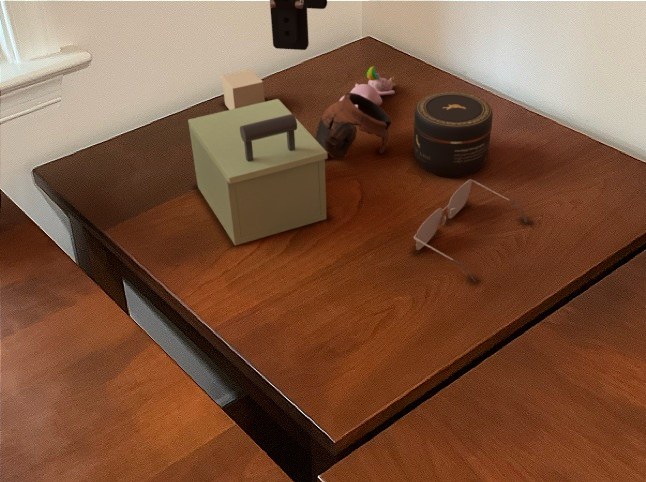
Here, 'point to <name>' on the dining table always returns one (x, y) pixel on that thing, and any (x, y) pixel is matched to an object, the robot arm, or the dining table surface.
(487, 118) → the jar
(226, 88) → the block
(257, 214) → the chest
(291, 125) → the lid
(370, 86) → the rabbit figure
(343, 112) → the brown crumpled piece
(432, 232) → the eyeglasses
